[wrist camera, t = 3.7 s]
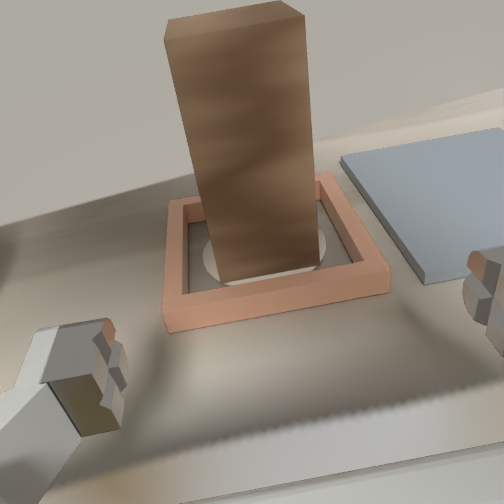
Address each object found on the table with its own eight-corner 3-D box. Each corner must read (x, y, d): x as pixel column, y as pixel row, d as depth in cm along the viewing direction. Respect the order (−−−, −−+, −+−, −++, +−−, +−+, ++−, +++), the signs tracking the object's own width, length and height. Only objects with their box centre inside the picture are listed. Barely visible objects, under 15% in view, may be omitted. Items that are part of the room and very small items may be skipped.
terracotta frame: (168, 333, 18) (161, 311, 17) (174, 219, 25) (168, 200, 25) (390, 292, 18) (390, 269, 17) (330, 190, 26) (330, 171, 25)
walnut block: (220, 283, 20) (163, 40, 14) (215, 230, 23) (168, 19, 18) (320, 265, 20) (304, 15, 14) (299, 214, 23) (280, 0, 18)
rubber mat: (424, 284, 18) (425, 273, 18) (341, 164, 28) (340, 155, 28) (661, 240, 18) (667, 228, 18) (496, 136, 28) (498, 127, 28)
